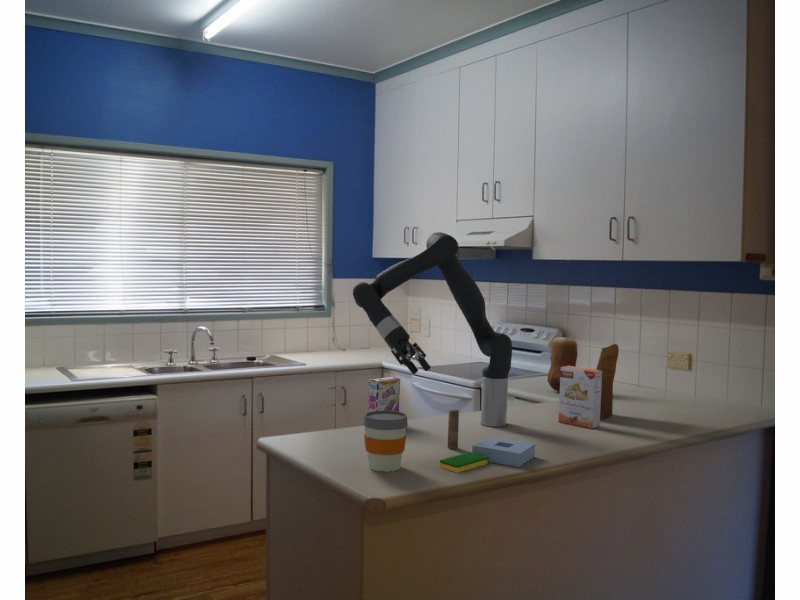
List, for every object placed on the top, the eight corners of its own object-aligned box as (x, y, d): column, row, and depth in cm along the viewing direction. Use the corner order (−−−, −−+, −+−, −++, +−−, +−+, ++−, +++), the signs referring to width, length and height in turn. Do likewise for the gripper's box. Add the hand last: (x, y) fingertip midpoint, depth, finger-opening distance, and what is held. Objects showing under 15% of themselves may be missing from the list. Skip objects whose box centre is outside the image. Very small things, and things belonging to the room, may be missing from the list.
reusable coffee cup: (370, 459, 215) (372, 408, 214) (411, 463, 211) (413, 412, 210) (356, 470, 203) (357, 417, 202) (399, 476, 199) (400, 421, 198)
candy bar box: (376, 428, 253) (377, 381, 251) (366, 425, 256) (368, 379, 255) (399, 423, 260) (400, 378, 259) (389, 421, 264) (391, 376, 263)
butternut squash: (578, 390, 334) (580, 336, 333) (578, 396, 321) (580, 339, 320) (547, 388, 337) (549, 335, 336) (546, 393, 324) (548, 338, 323)
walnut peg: (450, 446, 231) (451, 408, 231) (459, 447, 230) (460, 410, 229) (445, 448, 229) (447, 410, 228) (455, 449, 227) (456, 411, 226)
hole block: (488, 449, 229) (489, 436, 229) (534, 456, 222) (535, 443, 221) (471, 458, 218) (472, 445, 218) (519, 467, 210) (519, 453, 210)
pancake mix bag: (621, 415, 284) (625, 344, 282) (599, 422, 270) (602, 347, 268) (605, 412, 289) (608, 342, 287) (582, 419, 275) (585, 346, 273)
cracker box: (557, 422, 268) (559, 366, 267) (565, 420, 273) (568, 365, 271) (592, 429, 259) (594, 371, 258) (600, 427, 263) (602, 369, 262)
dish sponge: (438, 468, 209) (438, 460, 208) (469, 459, 218) (469, 451, 218) (457, 474, 204) (457, 465, 203) (488, 465, 213) (488, 457, 213)
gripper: (389, 326, 231) (419, 366, 226) (410, 323, 243) (440, 361, 238) (374, 341, 234) (404, 381, 229) (396, 338, 246) (425, 375, 241)
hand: (422, 371), depth 233 cm, fingers open, 8 cm apart
